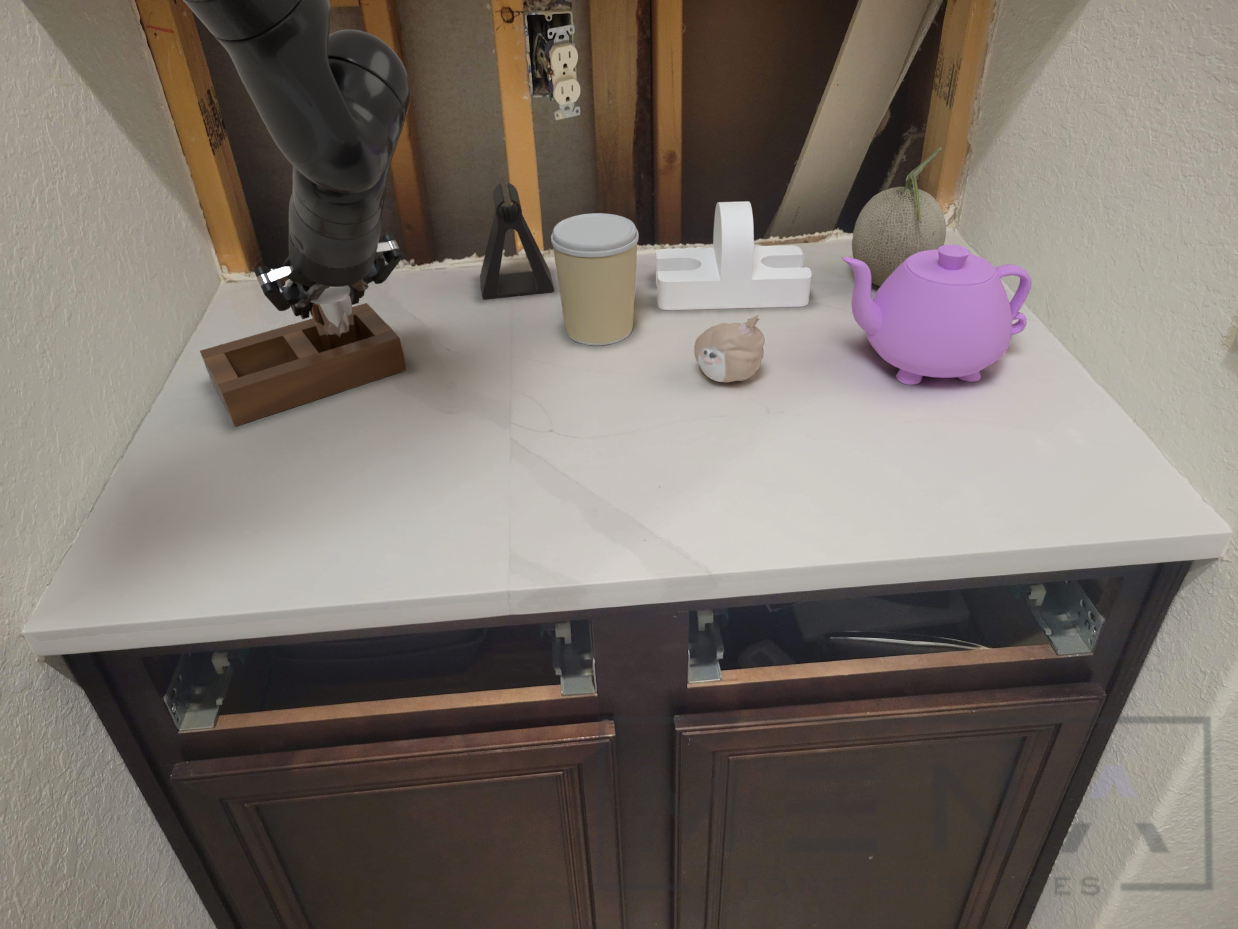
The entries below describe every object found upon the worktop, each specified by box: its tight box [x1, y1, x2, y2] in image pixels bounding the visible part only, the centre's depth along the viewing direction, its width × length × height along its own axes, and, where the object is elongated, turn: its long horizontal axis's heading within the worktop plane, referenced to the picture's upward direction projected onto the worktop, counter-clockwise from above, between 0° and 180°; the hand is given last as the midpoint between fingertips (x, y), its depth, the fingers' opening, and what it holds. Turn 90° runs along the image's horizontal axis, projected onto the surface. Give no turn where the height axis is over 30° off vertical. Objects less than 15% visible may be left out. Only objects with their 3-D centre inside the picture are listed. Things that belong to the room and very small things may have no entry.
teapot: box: [841, 244, 1032, 386], centre depth 83 cm, size 20×14×12 cm
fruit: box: [851, 146, 947, 287], centre depth 97 cm, size 10×12×15 cm
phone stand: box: [479, 182, 555, 300], centre depth 100 cm, size 9×6×12 cm, turn 100°
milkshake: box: [309, 286, 357, 351], centre depth 86 cm, size 4×5×10 cm
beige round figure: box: [693, 314, 766, 383], centre depth 83 cm, size 7×6×8 cm
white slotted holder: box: [655, 200, 813, 311], centre depth 98 cm, size 10×18×11 cm, turn 90°
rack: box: [199, 302, 408, 427], centre depth 87 cm, size 10×18×4 cm, turn 124°
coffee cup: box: [550, 212, 640, 346], centre depth 91 cm, size 9×9×12 cm
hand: (326, 302), depth 86 cm, fingers closed on milkshake, 4 cm apart
